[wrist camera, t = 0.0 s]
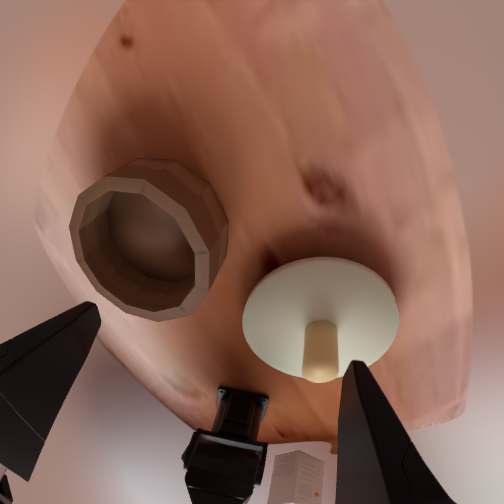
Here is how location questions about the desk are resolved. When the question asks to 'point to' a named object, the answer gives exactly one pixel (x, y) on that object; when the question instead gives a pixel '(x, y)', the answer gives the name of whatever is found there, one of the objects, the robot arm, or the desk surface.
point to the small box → (296, 479)
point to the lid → (320, 317)
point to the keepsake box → (150, 238)
